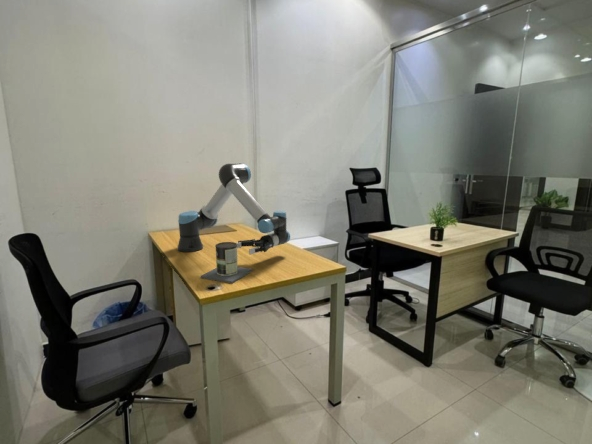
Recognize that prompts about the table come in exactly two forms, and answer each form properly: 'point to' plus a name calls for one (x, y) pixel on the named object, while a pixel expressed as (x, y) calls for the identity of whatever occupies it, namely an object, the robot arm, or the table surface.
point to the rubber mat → (230, 279)
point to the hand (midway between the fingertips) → (240, 249)
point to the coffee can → (226, 258)
